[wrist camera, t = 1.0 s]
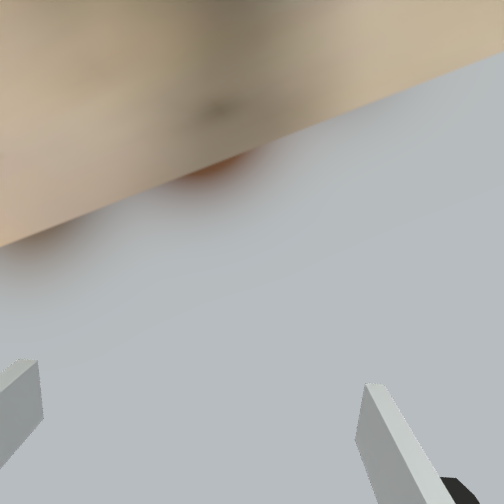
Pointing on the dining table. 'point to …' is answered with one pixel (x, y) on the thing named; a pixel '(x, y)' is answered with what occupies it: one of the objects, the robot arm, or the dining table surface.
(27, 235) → the dining table surface
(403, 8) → the dining table surface
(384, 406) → the robot arm
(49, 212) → the dining table surface
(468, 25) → the dining table surface
